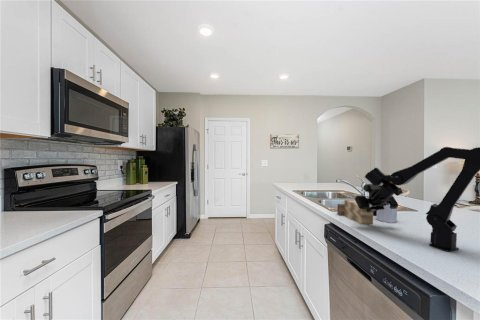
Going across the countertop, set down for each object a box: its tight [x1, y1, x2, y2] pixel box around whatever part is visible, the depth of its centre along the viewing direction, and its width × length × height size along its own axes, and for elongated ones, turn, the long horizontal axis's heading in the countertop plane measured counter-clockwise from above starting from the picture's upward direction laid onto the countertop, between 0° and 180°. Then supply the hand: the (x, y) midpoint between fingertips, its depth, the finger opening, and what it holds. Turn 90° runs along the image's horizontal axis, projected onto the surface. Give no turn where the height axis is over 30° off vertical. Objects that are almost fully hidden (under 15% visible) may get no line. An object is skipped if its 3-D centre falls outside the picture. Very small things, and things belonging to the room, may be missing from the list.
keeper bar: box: [343, 199, 374, 225], centre depth 122 cm, size 16×6×9 cm, turn 5°
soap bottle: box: [375, 182, 398, 224], centre depth 122 cm, size 9×9×25 cm
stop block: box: [336, 203, 345, 217], centre depth 132 cm, size 3×10×6 cm, turn 96°
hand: (367, 211), depth 114 cm, fingers closed
